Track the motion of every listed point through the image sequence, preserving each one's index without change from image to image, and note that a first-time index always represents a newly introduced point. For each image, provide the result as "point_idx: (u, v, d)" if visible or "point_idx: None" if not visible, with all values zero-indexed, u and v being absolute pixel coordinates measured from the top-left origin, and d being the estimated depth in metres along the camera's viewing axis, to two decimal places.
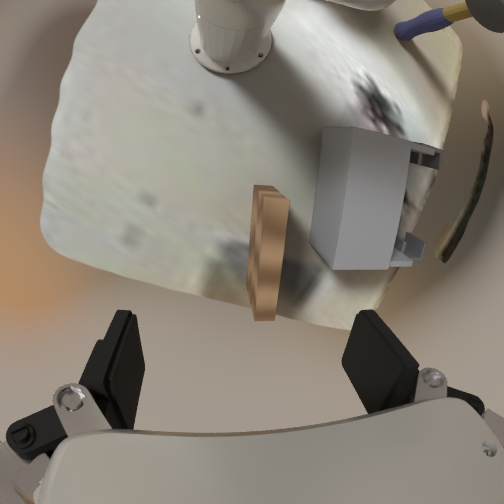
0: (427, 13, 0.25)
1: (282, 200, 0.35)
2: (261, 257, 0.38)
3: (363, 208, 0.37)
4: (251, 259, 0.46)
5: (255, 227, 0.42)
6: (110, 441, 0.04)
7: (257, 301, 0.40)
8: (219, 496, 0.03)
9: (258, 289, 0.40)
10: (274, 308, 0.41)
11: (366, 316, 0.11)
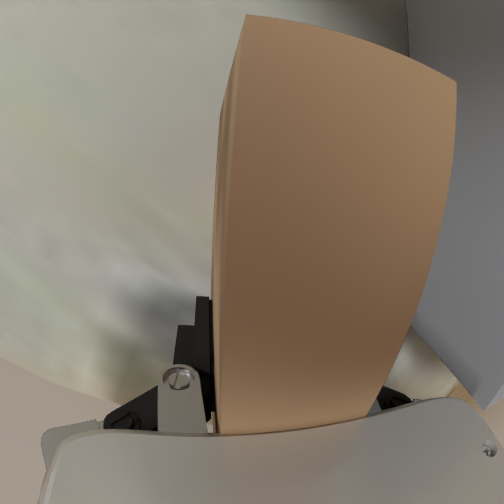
0: None
1: (408, 66, 0.03)
2: None
3: None
4: None
5: None
6: (110, 441, 0.04)
7: None
8: (219, 496, 0.03)
9: None
10: None
11: None
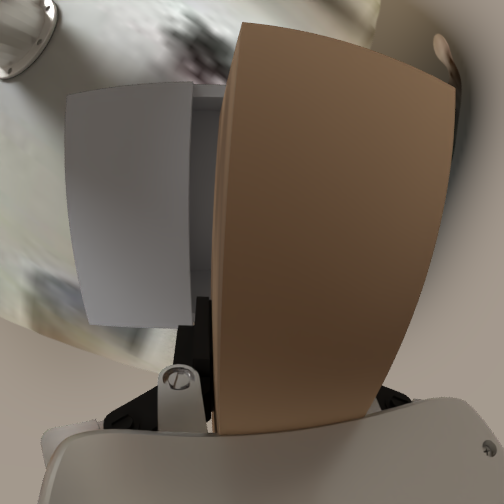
0: None
1: (406, 72, 0.03)
2: None
3: (103, 227, 0.20)
4: None
5: None
6: (110, 441, 0.04)
7: None
8: (219, 496, 0.03)
9: None
10: None
11: None
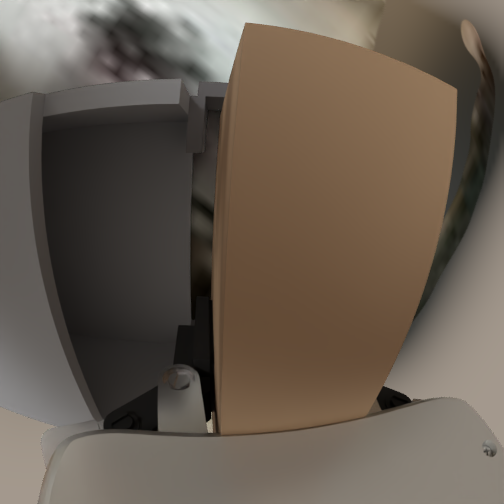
0: None
1: (409, 73, 0.03)
2: None
3: None
4: None
5: None
6: (110, 441, 0.04)
7: None
8: (219, 496, 0.03)
9: None
10: None
11: None
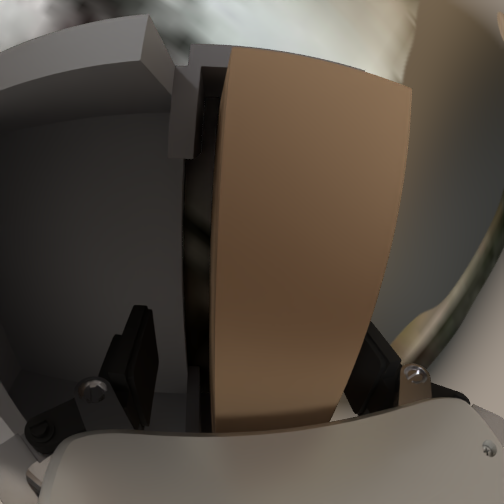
0: None
1: (366, 79, 0.04)
2: (220, 431, 0.06)
3: None
4: None
5: None
6: (110, 441, 0.04)
7: None
8: (219, 496, 0.03)
9: None
10: None
11: None
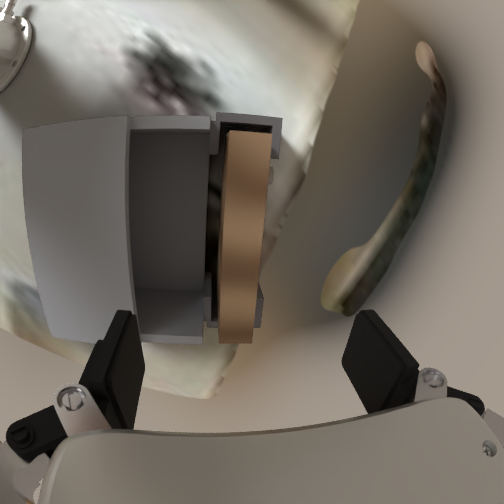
0: None
1: (259, 134, 0.19)
2: (224, 235, 0.21)
3: (56, 253, 0.20)
4: None
5: (222, 193, 0.26)
6: (110, 441, 0.04)
7: (221, 312, 0.24)
8: (219, 496, 0.03)
9: (222, 292, 0.23)
10: (250, 324, 0.25)
11: (366, 316, 0.11)
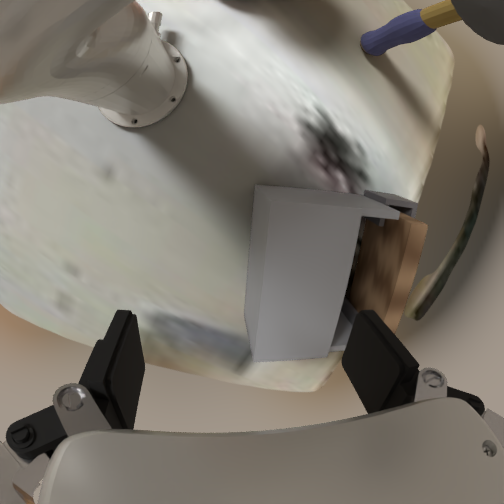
0: (399, 17, 0.20)
1: (422, 225, 0.30)
2: (397, 282, 0.33)
3: (288, 299, 0.31)
4: (364, 281, 0.41)
5: (377, 249, 0.38)
6: (110, 441, 0.04)
7: None
8: (219, 496, 0.03)
9: (386, 314, 0.35)
10: (394, 331, 0.36)
11: (366, 316, 0.11)
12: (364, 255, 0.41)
